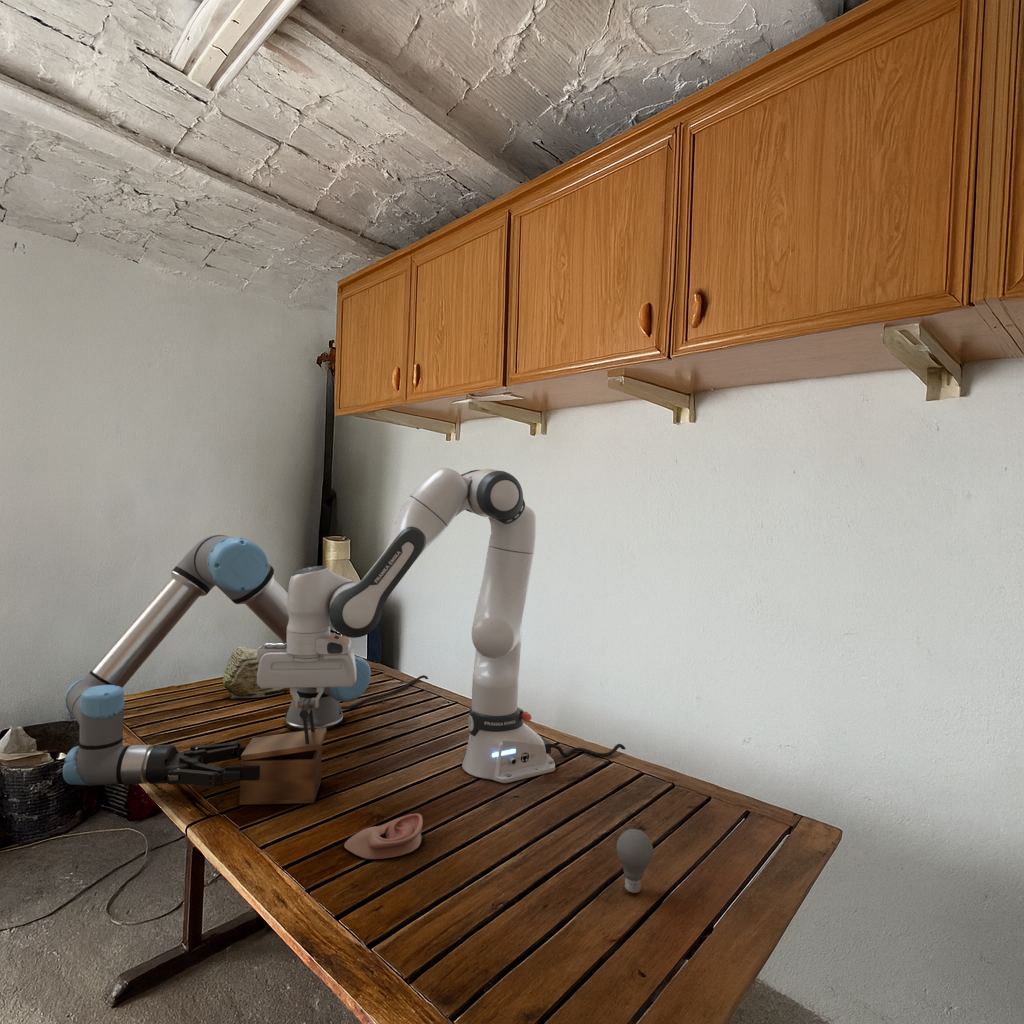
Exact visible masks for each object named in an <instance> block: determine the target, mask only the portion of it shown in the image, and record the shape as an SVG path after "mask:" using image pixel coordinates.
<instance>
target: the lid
mask: <svg viewBox="0 0 1024 1024" xmlns="http://www.w3.org/2000/svg"><path fill="white" fill-rule="evenodd" d="M311 699H312V698H309V699H307V701H306V702H305V704H304V706H303V708H302V710H301V712H300V717H301V718H303V724H304V731H293V732H287V733H278V734H271V735H264V736H258V737H257V736H256V737H253V738H252V739H250V741H249V743H248V744H247V747H246V749H245V750H244V752H243V753H242V755H241V760H240V762H241V761H245V760H252V759H258V758H265V757H272V756H279V755H285V754H292V753H299V752H306V751H312V750H319V749H321V746H322V747H323V743H324V741H325V738H326V736H327V733H328V732H327V731H328V730H326V728H319V729H315V727H314V718H313V709H312V708H311ZM308 715H309V717H310V726H311V730H308V723H307V717H308Z"/></svg>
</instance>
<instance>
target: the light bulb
mask: <svg viewBox="0 0 1024 1024" xmlns="http://www.w3.org/2000/svg"><path fill="white" fill-rule="evenodd" d="M615 849H616V854H617V857H618V859H619V861H620V863H621V865H622V867H623V873H624V874H623V875H624V876H625V878H624V888H625V890H627V891H628V892H630V893H634V894H635V893H639V892H640V891H641V889H642V887H641V886H642V879H643V877H644V875H645V871H646V868H647V867H648V866H649V864H650V863H651V861H652V859H653V855H654V847H653V843H652V841H651V838H649V836H648V835H647V834H646V833H645V832H643V831H642V830H641V829H636V828H629V829H627V830H625V831H623V832H622V833H621V834H620V835H619V837H618V839H617V841H616V847H615Z"/></svg>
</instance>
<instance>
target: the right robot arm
mask: <svg viewBox="0 0 1024 1024" xmlns="http://www.w3.org/2000/svg"><path fill="white" fill-rule="evenodd" d="M524 499H525V498H524V492H523V488H522V486H521V483H520V481H519V480H518V479H517V478H516V477H515V476H514V475H513V474H511V473H509V472H507V471H504V470H498V469H492V468H484V469H473V470H470V471H466V472H465V473H462V474H460V473H459V472H458V471H456V470H454V469H451V468H449V467H441V468H437V469H436V470H435V471H434V472H432V473H431V474H429V475H428V476H427V477H426V478H425V479H423V481H422V482H421V483H420V484H418V486H417V487H416V488H415V489H413V491H412V492H411V493H410V494H409V495H408V496H407V498H406V499H405V500H404V501H403V503H402V504H401V506H400V507H399V509H398V511H397V512H396V514H395V515H394V517H393V519H392V523H391V533H390V538H389V541H388V544H387V546H386V548H385V549H384V551H383V553H382V554H381V555H380V557H379V558H378V559H377V560H376V562H375V563H374V564H373V565H372V566H371V568H370V569H369V570H368V572H366V574H365V575H364V576H363V578H362V579H361V580H360V581H359V580H354V579H350V578H349V577H348V578H347V577H345V576H342V575H340V574H338V573H336V572H334V571H332V570H331V569H330V568H329V567H327V566H325V565H313V566H307V567H303V568H300V569H298V570H296V571H295V572H294V573H293V574H292V575H291V576H290V579H289V583H288V589H287V593H288V599H287V611H288V614H289V622H288V626H287V643H284V642H273V643H272V642H266V643H264V644H262V645H260V646H259V647H258V648H259V649H258V650H257V661H258V662H259V667H258V673H257V685H258V686H259V687H260V688H286V689H289V694H290V695H291V697H292V699H294V700H295V708H303V706H304V703H303V701H304V698H300V697H299V695H298V693H297V691H298V689H299V688H314V687H317V692H319V693H318V695H317V697H316V698H312V699H311V708H318V707H319V698H320V697H321V695H322V693H323V692H324V689H325V687H352V686H353V685H354V684H355V682H356V679H357V670H356V661H355V656H354V655H355V653H354V652H353V651H352V650H351V648H352V639H351V638H353V639H356V638H357V639H358V638H361V637H362V638H363V637H365V636H367V635H369V634H370V633H371V632H373V631H374V630H375V629H376V628H377V626H378V625H379V623H380V621H381V618H382V614H383V610H384V607H385V604H386V602H387V600H388V598H389V597H390V595H391V594H392V592H393V591H394V590H395V589H396V587H397V586H398V585H399V583H400V582H401V580H402V579H403V578H404V577H405V575H406V574H407V573H408V572H409V570H410V569H411V567H412V566H413V565H414V563H415V562H416V561H417V560H418V559H419V558H420V556H422V555H423V554H424V553H425V552H426V551H427V549H429V548H430V546H432V545H433V544H434V543H435V542H436V541H437V540H438V538H440V536H441V535H442V534H443V533H444V532H445V531H446V529H447V528H448V527H449V526H450V525H451V523H452V522H453V521H454V519H455V518H456V517H457V516H458V515H459V514H461V513H462V512H464V511H467V512H469V513H472V514H475V515H477V516H480V517H484V518H488V520H489V524H490V536H489V540H488V546H487V552H486V558H485V564H484V569H483V575H482V580H481V585H480V589H479V593H478V597H477V602H476V607H475V612H474V616H473V621H472V627H471V641H472V645H473V646H474V648H475V654H474V655H475V656H474V663H473V671H472V685H471V704H470V707H469V715H468V720H467V722H468V723H467V725H468V732H469V733H468V740H467V746H466V750H465V754H464V757H463V760H462V762H461V768H462V770H463V771H464V772H466V773H467V774H469V775H470V776H473V777H476V778H479V779H486V780H492V781H494V782H497V783H501V784H508V783H513V782H516V781H520V780H525V779H528V778H532V777H536V776H541V775H544V774H549V773H553V772H555V771H556V763H555V760H554V758H553V757H552V756H550V755H551V753H552V748H553V749H556V750H558V752H559V754H560V755H561V757H562V756H563V758H564V757H565V758H567V757H570V756H571V755H572V754H573V753H575V752H583V753H586V754H588V755H592V756H596V757H600V758H607V757H610V756H613V755H614V754H615V753H616V752H617V750H618V749H619V748H620V749H621V750H626V747H625V745H623V743H617V744H615V745H614V747H613V748H612V749H611V750H609V751H608V752H598V751H594V750H592V749H588V748H586V747H585V748H584V747H579V746H578V747H573V748H571V749H569V750H568V751H567V752H564V750H563V748H562V747H561V746H560V745H557V744H555V743H552V742H550V741H549V740H547V739H546V738H545V737H543V736H540V735H539V734H538V733H537V732H536V731H534V730H533V729H532V728H531V727H530V726H528V725H527V724H526V723H530V721H531V720H532V719H533V717H532V715H531V713H529V712H528V711H524V710H523V709H522V708H521V707H518V699H519V678H520V663H521V651H522V650H521V649H522V633H523V616H524V610H525V605H526V600H527V595H528V589H529V583H530V579H531V572H532V566H533V560H534V555H535V550H536V549H535V548H536V540H537V539H536V538H537V517H536V513H535V511H534V510H533V509H532V508H531V507H530V506H528V505H526V502H525V500H524ZM331 626H332V628H333V629H334V630H335V631H336V632H337V633H338V634H337V633H334V632H331ZM549 754H550V755H549Z"/></svg>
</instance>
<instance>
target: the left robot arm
mask: <svg viewBox="0 0 1024 1024" xmlns="http://www.w3.org/2000/svg"><path fill="white" fill-rule="evenodd" d="M275 574H276V570H275V568H274V567H273V566H272V565H271V564H270V563H269V560H268V556H267V554H266V553H265V551H264V549H263V548H262V547H261V546H260V545H258V544H257V543H256V542H254V541H252V540H250V539H247V538H243V537H235V536H229V535H226V534H214V535H209V536H206V537H204V538H203V539H201V540H200V541H198V542H197V543H196V544H195V545H194V546H193V547H192V548H191V549H190V550H188V551H187V553H186V554H185V555H184V556H183V558H181V560H180V561H179V562H178V563H177V565H176V566H174V568H173V569H172V570H171V572H170V576H171V578H170V579H169V580H168V582H167V583H166V584H165V585H164V586H163V587H162V588H161V590H160V591H159V592H158V593H157V594H156V595H155V597H154V598H153V599H152V600H151V601H150V602H149V603H148V605H147V606H146V607H145V608H144V609H143V610H142V611H141V613H140V614H139V615H138V616H137V617H136V618H135V619H134V621H133V622H132V623H131V624H130V625H129V626H128V628H126V630H125V631H124V632H123V633H122V635H121V636H120V637H119V638H118V639H117V640H116V641H115V642H114V644H113V645H112V646H111V647H110V648H109V650H108V651H106V653H105V654H104V655H103V656H102V658H101V659H100V660H99V661H98V662H97V663H96V664H95V666H94V667H93V668H92V669H91V670H90V671H89V672H88V673H87V674H86V675H85V677H84V678H81V679H78V680H76V681H74V682H73V683H72V684H70V685H69V686H68V688H67V689H66V691H65V693H64V703H65V707H66V709H67V711H68V712H69V713H70V714H71V715H72V716H73V717H74V719H75V721H76V722H77V723H78V725H79V742H78V745H76V746H74V747H72V748H71V749H70V750H69V751H68V752H67V754H66V755H65V758H64V764H63V766H62V778H63V780H64V782H65V783H66V784H68V785H71V786H87V787H93V786H107V785H108V786H110V785H111V786H112V785H133V786H134V787H136V786H138V785H146V784H150V785H166V784H168V785H179V784H180V785H188V786H199V787H200V786H201V787H208V788H209V787H212V788H215V787H223V786H224V783H225V782H233V781H236V782H237V781H239V782H240V781H243V780H259V773H260V766H241V765H226V766H225V767H224V768H223V767H219V766H214V765H211V764H215V763H220V762H225V761H230V760H231V761H232V760H236V759H238V761H241V755H242V753H243V752H244V750H245V749H246V747H247V746H248V745H247V746H241V745H242V744H241V741H235V742H226V743H225V742H224V743H216V744H205V745H191V746H190V750H186V751H181V752H180V751H178V749H177V747H176V746H175V745H174V744H156V745H154V744H128V745H127V744H123V742H124V741H123V740H124V718H125V706H126V701H125V691H124V686H126V684H127V683H128V682H129V681H130V679H132V677H133V676H134V675H135V674H136V673H137V671H138V670H139V669H140V668H141V667H142V665H143V664H144V663H145V662H146V661H147V660H148V658H149V657H150V656H151V655H152V653H154V651H155V650H156V649H157V647H158V646H159V645H160V644H161V643H162V641H163V640H164V639H165V638H166V637H167V636H168V635H169V633H170V632H171V631H172V630H173V629H174V628H175V626H176V625H177V624H178V623H179V621H180V620H181V619H182V618H184V616H185V615H186V613H187V612H188V611H189V610H190V608H191V607H192V606H193V605H194V604H195V603H196V602H197V600H198V599H199V598H200V597H205V596H207V595H208V594H209V593H210V591H212V589H214V587H217V588H218V589H219V590H220V591H221V592H222V593H223V594H224V595H225V596H226V597H227V598H228V599H229V600H230V601H231V602H232V603H233V604H235V605H245V606H246V607H247V608H248V609H249V610H250V611H251V612H252V613H253V614H254V615H256V617H257V618H258V619H259V620H260V621H261V622H262V623H263V624H264V625H265V626H266V627H267V628H269V630H270V631H271V632H273V634H275V636H276V637H277V638H278V639H280V641H282V643H287V626H288V622H289V614H288V611H287V599H288V591H286V589H284V588H283V586H282V585H281V584H280V583H279V582H278V581H277V580H276V579H275ZM354 656H355V661H356V670H357V679H356V682H355V684H354V685H353V686H352V687H325V689H324V692H323V693H322V695H321V697H320V698H319V707H318V708H312V709H313V718H314V727H315V729H319V728H326V730H327V731H329V730H332V729H335V728H337V727H339V726H340V725H342V723H343V722H344V714H343V710H349V709H352V708H356V707H357V706H360V705H362V704H364V703H366V702H368V701H369V702H370V701H372V700H377V699H380V698H383V697H387V696H390V695H393V694H395V693H399V692H400V691H402V690H405V689H407V688H409V686H411V685H413V684H414V683H416V682H418V681H419V680H421V679H425V680H428V679H429V677H428V676H427V675H423V674H422V675H420V676H418V677H416V678H415V679H413V680H411V681H409V682H407V684H405V685H402V686H400V687H399V688H396V689H394V690H391V691H388V692H385V693H381V694H377V695H372V696H370V697H367V698H364V699H361V700H359V701H357V702H354V703H352V704H349V705H341V702H343V703H350V702H353V701H356V700H357V699H359V698H360V697H361V696H362V695H363V694H364V693H365V692H366V690H367V689H368V687H369V685H370V682H371V676H372V670H371V666H370V664H369V662H368V661H366V660H365V658H362V657H361V656H357V655H356V654H354ZM297 693H298V695H299V697H300V698H304V701H303V703H304V704H305V702H306V701H307V699H309V698H316V697H317V695H318V693H319V692H317V687H314V688H299V689H298V691H297ZM301 710H302V708H295V700H294V699H293V698H292V699H291V702H290V704H289V708H288V709H287V711H286V712H285V715H284V719H285V726H286V728H287V729H289V730H291V731H294V732H299V731H304V724H303V718H301V717H300V712H301ZM307 723H308V730H311V726H310V717H309V715H308V717H307Z"/></svg>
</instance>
